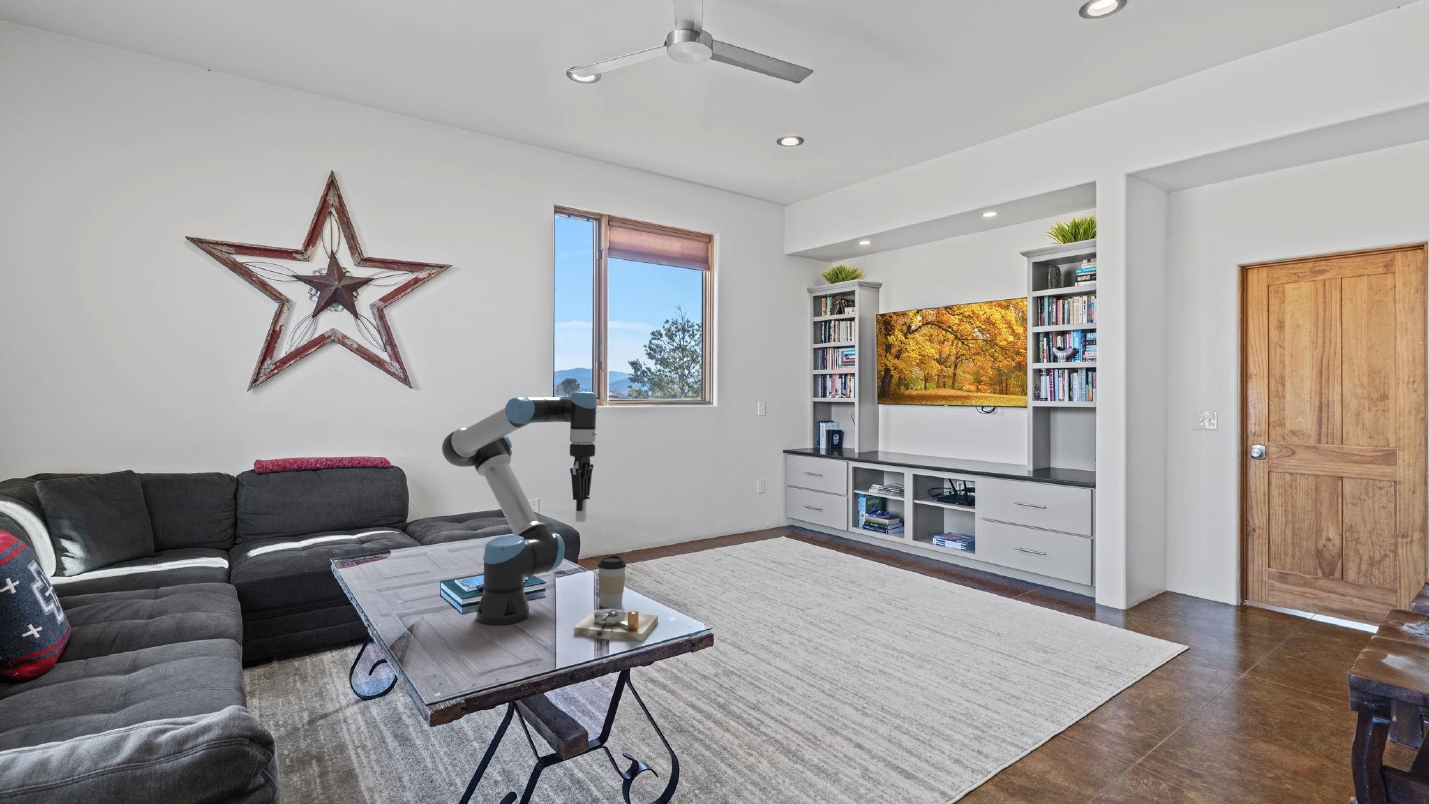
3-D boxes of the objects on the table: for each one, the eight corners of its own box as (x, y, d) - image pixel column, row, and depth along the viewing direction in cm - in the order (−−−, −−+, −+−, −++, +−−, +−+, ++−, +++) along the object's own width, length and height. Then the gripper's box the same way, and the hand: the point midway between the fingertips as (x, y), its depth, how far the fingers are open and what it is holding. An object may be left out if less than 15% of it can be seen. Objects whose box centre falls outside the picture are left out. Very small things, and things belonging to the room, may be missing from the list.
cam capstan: (585, 621, 197) (585, 605, 197) (611, 613, 204) (611, 597, 204) (621, 635, 186) (622, 618, 186) (648, 626, 194) (648, 610, 194)
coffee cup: (619, 609, 215) (620, 562, 214) (592, 607, 216) (593, 560, 216) (628, 601, 223) (630, 555, 223) (602, 598, 225) (603, 553, 225)
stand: (571, 636, 191) (571, 628, 191) (594, 615, 208) (594, 608, 208) (639, 643, 187) (640, 635, 187) (657, 622, 205) (657, 614, 205)
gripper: (586, 445, 198) (584, 526, 198) (602, 442, 211) (600, 518, 211) (562, 444, 199) (560, 524, 200) (579, 441, 212) (577, 516, 213)
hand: (580, 521), depth 206 cm, fingers closed
